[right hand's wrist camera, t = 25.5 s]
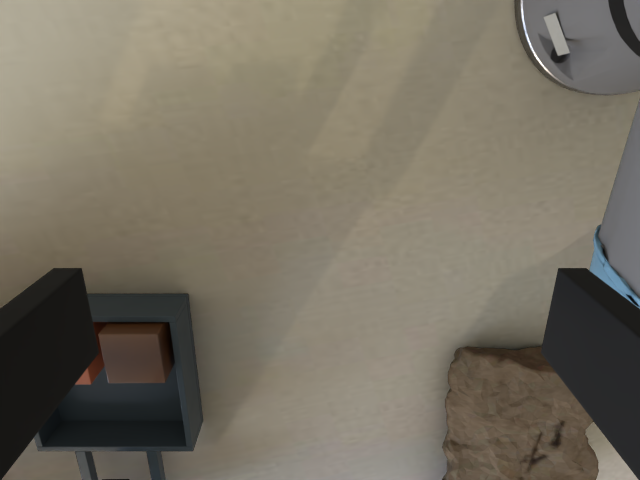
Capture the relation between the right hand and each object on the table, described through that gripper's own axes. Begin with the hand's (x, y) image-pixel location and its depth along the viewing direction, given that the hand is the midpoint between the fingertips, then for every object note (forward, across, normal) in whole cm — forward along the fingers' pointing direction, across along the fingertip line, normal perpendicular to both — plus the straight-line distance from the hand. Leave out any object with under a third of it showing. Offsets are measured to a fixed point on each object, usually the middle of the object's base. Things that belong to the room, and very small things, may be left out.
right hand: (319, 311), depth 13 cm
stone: (+27, -19, +29) cm, 44 cm away
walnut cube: (+26, +16, +17) cm, 35 cm away
